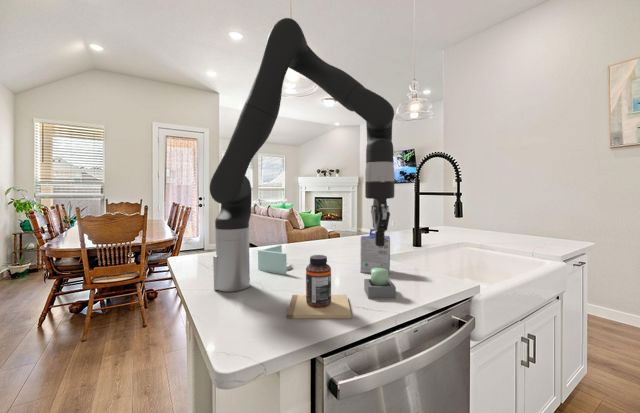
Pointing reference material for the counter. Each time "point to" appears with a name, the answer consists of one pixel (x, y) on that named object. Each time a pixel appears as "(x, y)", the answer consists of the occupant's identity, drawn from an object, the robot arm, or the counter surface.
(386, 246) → the ink cartridge box
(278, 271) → the l-shaped corner panel
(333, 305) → the sketchbook
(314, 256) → the supplement bottle
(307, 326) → the counter surface
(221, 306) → the counter surface
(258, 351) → the counter surface
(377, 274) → the button
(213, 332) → the counter surface
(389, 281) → the button housing
